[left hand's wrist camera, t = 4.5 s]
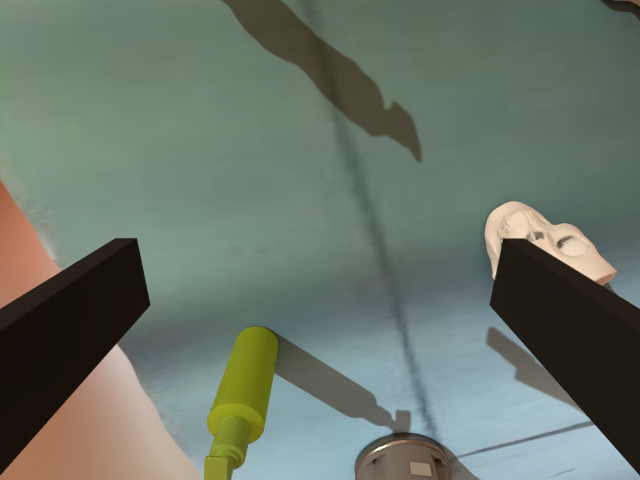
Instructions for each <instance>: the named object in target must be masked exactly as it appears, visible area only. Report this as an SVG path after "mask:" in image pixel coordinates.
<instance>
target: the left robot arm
mask: <svg viewBox="0 0 640 480" xmlns="http://www.w3.org/2000/svg"><path fill="white" fill-rule="evenodd" d="M149 306H150V300H149V295H148V291H147V286H146V281H145V276H144V271H143V266H142V261H141V256H140V251H139V246H138V241H137V238H115V239H113V240H112V241H110V242H109V243H107V244H105V245H104V246H102V247H100V248H99V249H97V250H96V251H94V252H92V253H91V254H89V255H87V256H86V257H84V258H82V259H81V260H79V261H78V262H76V263H74V264H73V265H71V266H69V267H68V268H66V269H65V270H63V271H61V272H60V273H58V274H56V275H55V276H53V277H52V278H50V279H48V280H47V281H45V282H43V283H42V284H40V285H39V286H37V287H35V288H34V289H32V290H30V291H29V292H27V293H25V294H24V295H22V296H21V297H19V298H17V299H16V300H14V301H12V302H11V303H9V304H7V305H6V306H4V307H3V308H1V309H0V475H1V474H2V473H3V472H4V471H5V469H6V468H7V467H8V466H9V465H10V464H11V463H12V461H13V460H14V459H15V458H16V457H17V456H18V455H19V454H20V452H21V451H22V450H23V449H24V448H25V447H26V446H27V444H28V443H29V442H30V441H31V440H32V439H33V438H34V437H35V435H36V434H37V433H38V432H39V431H40V430H41V429H42V427H43V426H44V425H45V424H46V423H47V422H48V421H49V419H50V418H51V417H52V416H53V415H54V414H55V413H56V412H57V410H58V409H59V408H60V407H61V406H62V405H63V404H64V402H65V401H66V400H67V399H68V398H69V397H70V396H71V395H72V393H73V392H74V391H75V390H76V389H77V388H78V387H79V385H80V384H81V383H82V382H83V381H84V380H85V379H86V378H87V376H88V375H89V374H90V373H91V372H92V371H93V370H94V368H95V367H96V366H97V365H98V364H99V363H100V362H101V361H102V359H103V358H104V357H105V356H106V355H107V354H108V353H109V351H110V350H111V349H112V348H113V347H114V346H115V345H116V344H117V342H118V341H119V340H120V339H121V338H122V337H123V336H124V334H125V333H126V332H127V331H128V330H129V329H130V328H131V327H132V325H133V324H134V323H135V322H136V321H137V320H138V319H139V317H140V316H141V315H142V314H143V313H144V312H145V311H146V310H147V308H148V307H149ZM490 306H491V307H492V308H493V310H494V311H495V312H496V313H497V314H498V315H499V316H500V317H501V319H502V320H503V321H504V322H505V323H506V324H507V325H508V327H509V328H510V329H511V330H512V331H513V332H514V333H515V334H516V336H517V337H518V338H519V339H520V340H521V341H522V342H523V344H524V345H525V346H526V347H527V348H528V349H529V350H530V351H531V353H532V354H533V355H534V356H535V357H536V358H537V359H538V361H539V362H540V363H541V364H542V365H543V366H544V367H545V369H546V370H547V371H548V372H549V373H550V374H551V375H552V376H553V378H554V379H555V380H556V381H557V382H558V383H559V384H560V386H561V387H562V388H563V389H564V390H565V391H566V392H567V393H568V395H569V396H570V397H571V398H572V399H573V400H574V401H575V403H576V404H577V405H578V406H579V407H580V408H581V409H582V410H583V412H584V413H585V414H586V415H587V416H588V417H589V418H590V420H591V421H592V422H593V423H594V424H595V425H596V426H597V427H598V429H599V430H600V431H601V432H602V433H603V434H604V435H605V437H606V438H607V439H608V440H609V441H610V442H611V443H612V444H613V446H614V447H615V448H616V449H617V450H618V451H619V452H620V454H621V455H622V456H623V457H624V458H625V459H626V460H627V461H628V463H629V464H630V465H631V466H632V467H633V468H634V469H635V471H636V472H637V473H638V474H639V475H640V309H639V308H637V307H636V306H634V305H632V304H631V303H629V302H628V301H626V300H624V299H623V298H621V297H619V296H618V295H616V294H615V293H613V292H611V291H610V290H608V289H606V288H605V287H603V286H602V285H600V284H598V283H597V282H595V281H593V280H592V279H590V278H588V277H587V276H585V275H584V274H582V273H580V272H579V271H577V270H575V269H574V268H572V267H571V266H569V265H567V264H566V263H564V262H562V261H561V260H559V259H558V258H556V257H554V256H553V255H551V254H549V253H548V252H546V251H544V250H543V249H541V248H540V247H538V246H536V245H535V244H533V243H531V242H530V241H528V240H527V239H525V238H503V241H502V246H501V251H500V256H499V261H498V266H497V271H496V276H495V281H494V286H493V291H492V295H491V300H490ZM355 479H356V480H452V477H451V467H450V464H449V462H448V459H447V456H446V454H445V452H444V450H443V449H442V447H441V446H440V445H439V444H437V443H436V442H435V441H433V440H431V439H429V438H427V437H425V436H421V435H417V434H410V433H400V434H393V435H388V436H385V437H382V438H379V439H377V440H375V441H373V442H372V443H370V444H369V445H367V446H366V447H365V448H364V449H363V450H362V451H361V452H360V454H359V455H358V457H357V459H356V462H355Z"/></svg>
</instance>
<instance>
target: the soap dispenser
mask: <svg viewBox="0 0 640 480" xmlns="http://www.w3.org/2000/svg"><path fill="white" fill-rule="evenodd" d="M278 346H279V344H278V340H277V338H276V336H275V335H274V334H273V333H272V332H271V331H270V330H268V329H266V328H263V327H249V328H247V329H245V330H243V331H242V332H241V333H240V334H239V335H238V337H237V340H236V343H235V345H234V348H233V351H232V353H231V356H230V359H229V362H228V364H227V367H226V370H225V372H224V375H223V378H222V381H221V383H220V386H219V389H218V391H217V394H216V397H215V400H214V402H213V405H212V408H211V411H210V413H209V416H208V419H207V426H208V429H209V431H210V433H211V434H212V435H213V436H214V440H213V443H212V446H211V449H210V453H209V456H206V457H205V462H204V480H231V477H232V473H233V470H234V469H237V468H239V467H240V466H241V465H242V464H243V463H244V461H245V457H246V453H247V448H248V444H250V443H252V442H254V441H256V440H257V439H258V438H259V437H260V436H261V435H262V433H263V431H264V426H265V420H266V415H267V409H268V403H269V398H270V392H271V386H272V381H273V375H274V369H275V364H276V358H277V353H278Z"/></svg>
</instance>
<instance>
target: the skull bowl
mask: <svg viewBox="0 0 640 480" xmlns="http://www.w3.org/2000/svg"><path fill="white" fill-rule="evenodd" d="M535 237H536V238H537V239H538V240H536V238H535ZM503 238H525V239H527V240H528V241H530V242H531V243H533V244H535V245H536V246H538V247H540V248H541V249H543V250H544V251H546V252H548V253H549V254H551V255H553V256H554V257H556V258H558V259H559V260H561V261H562V262H564V263H566V264H567V265H569V266H571V267H572V268H574V269H575V270H577V271H579V272H580V273H582V274H584V275H585V276H587V277H588V278H590V279H592V280H593V281H595V282H597V283H598V284H600V285H604V284H605V283H607V282H608V281H610V280H611V279H612V278H613V277H614V276H615V275H616V273H617V271H616V270H615V269H614V268H613V267H612V266H611V265H610V264H609V263H608V262H607V261H605V260H604V259H603V258H602V257H601V256H600V255H599V253H598V252H597V250H596V248H595V246H594V245H593V244H592V243H591V242H590V241H589V240H588V239H587V238H586V237H585V236H584V235H583V233H582V232H581V231H580V230H579V229H578V228H576V227H575V226H573V225H570V224H566V223H563V224H559V225H552V224H551V223H550V222H549V221H547V220H546V219H545V218H544V217H543V216H542V215H541V214H540V213H538V212H537V211H536V210H534V209H533V208H531V207H529V206H527V205H525V204H523V203H520V202H515V201H512V202H508V203H505V204H503V205H501V206H500V207H498V208H496V209H495V210H494V211H493V212H492V213H491V214H490V215H489V217H488V220H487V223H486V228H485V241H486V248H487V252H488V255H489V257H490V260H491V264H492V271H493V275H492V277H493V279H494V280H495V276H496V271H497V266H498V261H499V256H500V251H501V246H502V241H503ZM558 241H560V242H561V241H562V242H561V243H559V244H558V243H557V242H558ZM557 245H558V246H557ZM558 247H559V248H558Z"/></svg>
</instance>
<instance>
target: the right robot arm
mask: <svg viewBox="0 0 640 480" xmlns="http://www.w3.org/2000/svg"><path fill="white" fill-rule="evenodd" d="M613 1H630V2H632V3H634V4H636V5H638V6H639V7H640V0H613Z"/></svg>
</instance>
